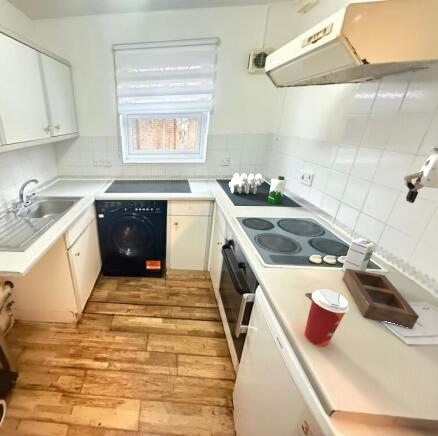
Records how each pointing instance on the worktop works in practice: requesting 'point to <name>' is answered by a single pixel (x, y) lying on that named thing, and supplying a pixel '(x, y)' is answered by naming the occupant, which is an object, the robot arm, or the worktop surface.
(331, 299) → the coffee cup
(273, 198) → the milk carton
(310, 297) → the meat cleaver
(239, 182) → the white lumpy cluster
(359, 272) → the holder
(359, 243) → the syrup box
